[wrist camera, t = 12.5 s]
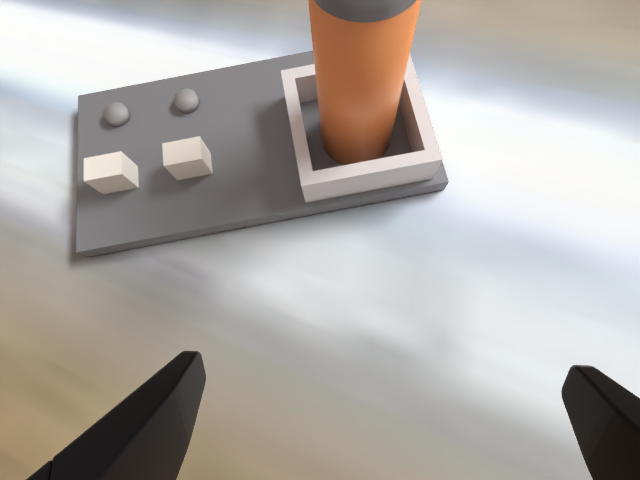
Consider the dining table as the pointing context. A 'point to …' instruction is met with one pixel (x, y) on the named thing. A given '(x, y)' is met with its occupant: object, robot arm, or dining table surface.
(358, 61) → the capped spray can
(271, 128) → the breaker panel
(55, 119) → the dining table surface
